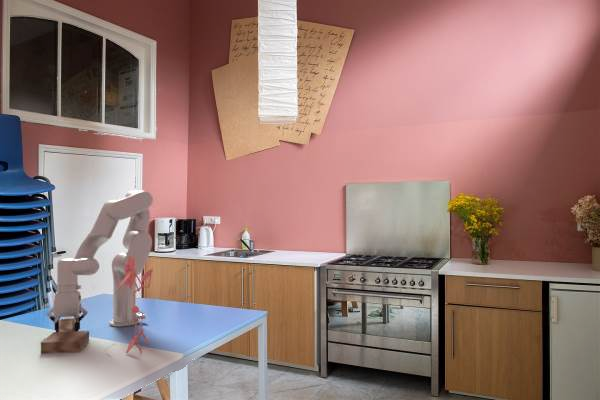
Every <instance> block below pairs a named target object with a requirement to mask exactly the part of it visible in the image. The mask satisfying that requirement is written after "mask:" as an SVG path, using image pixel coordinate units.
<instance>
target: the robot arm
mask: <svg viewBox="0 0 600 400" xmlns="http://www.w3.org/2000/svg"><path fill="white" fill-rule="evenodd" d="M153 202H154V200H153V195H152V194H151V193H150V192H149V191H147V190H143V189H142V190H138V189H137V190H130V191H128V192H127V193H126V194H125V197H123V198H121V199H118V200H117V199H112V200H108V201H105V203H104V204H103V205H102V207H101V209H100V211H99V214H98V215H97V217H96V220H95V223H94V224H93V227H92V229H91V231H90V232H89V233H88V235H87V236H86V238H84V240H83V241H82V243H81V244H80V246H79V248H78V250H77V251H76V254H75V256H74V258H72V257H70V258H67V257H66V258H61V259H59V260H58V261H57V273H56V274H57V279H56V280H57V283H56V284H57V286H56V287H57V291H56V292H55V294H54V300H53V307H52V308H51V309H50V310H49V311H48V312H47V313H46V316H47V317H48V318H49V319H50V320H51V321H52V322H53V324H54V331H55V332H59V321H60V320H61V317H63V318H72V317H73V318H75V320H76V322H75V331H80V329H81V321H82V320H83V319H84V318H85V317H86V316H87V315H88V313H89V311H88V310H87V309H86V308H84V306H83V304H82V296H81V291H80V290H81V289H82V285H79V283H78V281H79V280H78V279H79V277H78V276H93V275H94V274H96V273H97V272H98V271H99V269H100V263H99V261H98V260H97V259H96V258H95V255H96V253H97V251H98V250H99V249H100V248H101V246H103V245H104V244H105V243H107V242H108V241H109V240H111V239H112V236H113V234H114V232H115V230H116V227H117V226H118V223H119V221H122V220H126V219H128V218H129V222H128V225H127V228H126V230H125V232H124V235H123V238H122V245H123V247H124V248H125V249H126V250H127V252H119V253H117V254H116V255H115V256H114V257H113V258H112V261H111V271H112V281H113V284H112V285H113V286H112V287H113V288H112V289H113V290H112V292H113V294H112V301H113V302H112V306H113V307H112V319H111V320H109V322H108V324H109V325H110V326H112V327H130V326H134V325H136V318H137V324H138V323H140V319H141V320H142V313H138V312H137V313H135V316H136V318H135V316H134V313H133V312H132V311H131V309H132V307H133V306H134V296H133V293H134V291H136V290H137V288H136V285H135V283H134V281H133V286H132V288H131V289H130V288H129V284H128V285H127V286H126V285H125V283H124V284H123V285H122V286H121V287H120V288H119V289H118V287H119V285H120V283H121V282H122V281H123V279H124V278H125V277H126V272H125V264H127V265H128V257H129V256H130V255H131V261H132V258H135V266H134V268H135V271H136V274H137V276H139V275H140V274H141V273H142V272H143V271H144V268H145V266H146V264H147V261H148V258H149V257H150V252H151V251H152V246H153V238H152V236H151V235H150V233H149V232H148V230H149V229H148V228H149V225H150V221H151V213H150V209H149V208H150V207H151V206H152V204H153ZM135 281H136V282H137V279H135ZM136 301H137V292H135V306H137V302H136ZM81 313H82V314H81ZM80 314H81V315H80ZM145 319H147V315H146V314H145V313H143V320H145Z"/></svg>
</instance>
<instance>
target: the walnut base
mask: <svg viewBox="0 0 600 400" xmlns="http://www.w3.org/2000/svg"><path fill="white" fill-rule="evenodd" d="M88 341H90V330H78V331H70V332H56V331H54V332H52V333H50V334H49V335H48V336H47V337H46V338H44V339H43V340H42V341H41V342H40V354H42V353H44V354H60V353H61V354H62V353H63V354H64V353H65V352H66V354H67V353H80V352H81V350H82V349H83V348H85V346H86V345H87V344H88V343H89V342H88ZM87 342H88V343H87ZM86 343H87V344H86ZM85 344H86V345H85Z"/></svg>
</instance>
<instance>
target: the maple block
mask: <svg viewBox="0 0 600 400" xmlns="http://www.w3.org/2000/svg"><path fill="white" fill-rule="evenodd" d="M75 322H76V320H75V318H74V317H63V318H60V319H59V332H70V331H75Z"/></svg>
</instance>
